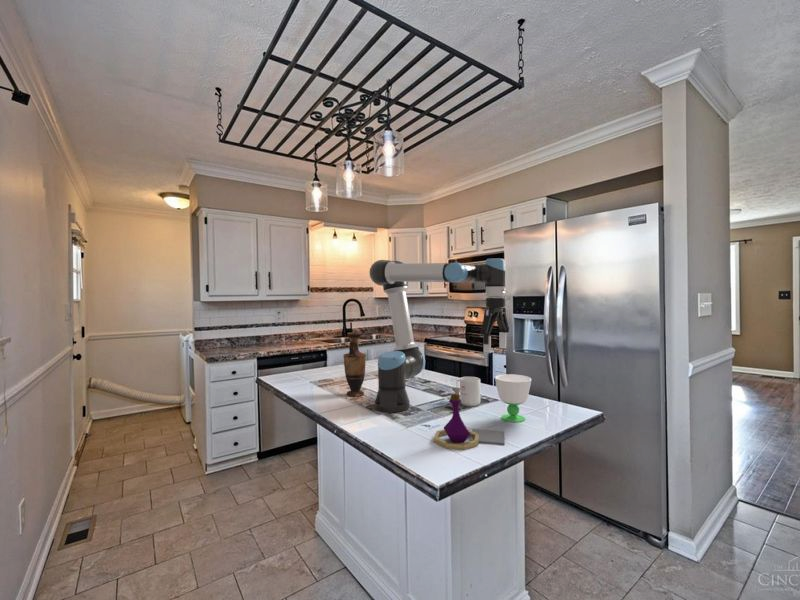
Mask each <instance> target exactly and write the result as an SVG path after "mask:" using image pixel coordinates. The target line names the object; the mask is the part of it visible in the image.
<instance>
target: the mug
mask: <svg viewBox="0 0 800 600" xmlns="http://www.w3.org/2000/svg"><path fill="white" fill-rule="evenodd" d="M455 382H456V383H455V384H456V387H457V388H461V389H460V392H459V395H460V396H459V399H460V400H461V403H460V404H461V405H463V406H466V407H477V406H479V404H480V403H481V378H479V377H476V376H462V377H460V378H459V379H456V380H455Z"/></svg>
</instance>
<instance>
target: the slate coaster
mask: <svg viewBox="0 0 800 600" xmlns="http://www.w3.org/2000/svg"><path fill="white" fill-rule="evenodd" d="M471 431H473V432H475V433H477V434H479V441H478V444H491V445H500V446H501V445H503V446H504V445H505V442H506V441H505V430H494V429H482V428H479V429H478V428H472V429H471ZM474 439H475V437H474V436H472V435H471V437H470V439H469V441H473V440H474Z"/></svg>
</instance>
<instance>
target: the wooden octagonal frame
mask: <svg viewBox="0 0 800 600" xmlns="http://www.w3.org/2000/svg"><path fill="white" fill-rule="evenodd" d="M468 431H469V433H470V436H469V437H470V438H471V435H472V436H474V437H475V439H474V440H473V441H470V440H469V441H465V442H463V443H452V442H451V441H450V442H449V441H446V440H444V439H442V438H440V437H443V436H446V435H447V433H446V432H445V430H444V428H443V429H440V430H437V431H435V434H434V436H433V442H434V443H435V444H436V445H439V446H440V447H442V448H444V449H453V450H463V451H464V450H467V449H471V448H474V447H478V446H479V443H478V441H479V434H477V433H475V432H473V431H472V430H470V429H468ZM447 436H448V435H447Z"/></svg>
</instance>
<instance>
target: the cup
mask: <svg viewBox="0 0 800 600" xmlns="http://www.w3.org/2000/svg"><path fill="white" fill-rule="evenodd" d="M494 379H495V384H496V389H497V394H498V398H499V399H500V401H501V402H503V403H504V404H507V407H506V408H507V409H506V411H507V413H508V414H507V413H505V414H503V415H501V419H502V421H506V422H508V423H509V422H510V423H522V422H524V421H525V420H526V417H524V416H523V415H520V414H519V413H520V407H519V405H522V404H524V403H526V402H527V400H528V397H529V393H530V390H531V389H530V388H531V384H532V378H531V377H530V376H527V375H522V374H512V373H509V374H508V373H506V374H497V375H495V377H494Z"/></svg>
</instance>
